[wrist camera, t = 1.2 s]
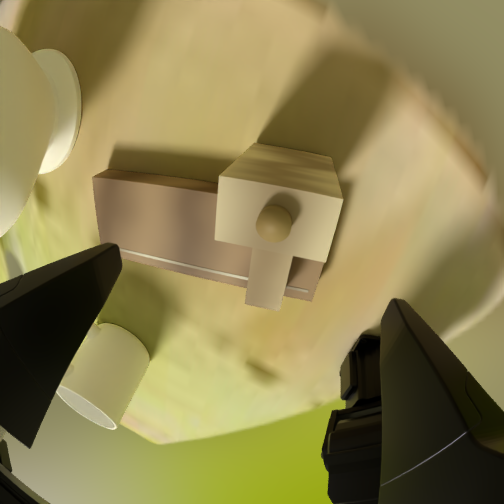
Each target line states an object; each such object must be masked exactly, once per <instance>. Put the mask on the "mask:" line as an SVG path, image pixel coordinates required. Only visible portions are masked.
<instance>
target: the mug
mask: <svg viewBox="0 0 504 504" xmlns="http://www.w3.org/2000/svg"><path fill="white" fill-rule="evenodd" d="M87 336H88V337H87V338H86V340H85V341H84V343H83V344H82V345H81V347H80V348H79V349H78V351H77V352H76V354H75V356H74V358H73V360H72V362H71V363H70V365H69V367H68V369H67V371H66V373H65V375H64V377H63V379H62V381H61V383H60V385H59V387H58V389H57V391H56V392H57V394H58V395H59V396H60V397H61V398H62V399H63V400H64V401H65V402H66V403H67V404H68V405H69V406H70V407H72V408H73V409H74V410H75V411H77V412H78V413H79V414H81V415H82V416H84V417H85V418H87V419H89V420H90V421H92V422H94V423H96V424H98V425H100V426H102V427H105V428H108V429H116V428H117V427H118V425H119V423H120V421H121V419H122V417H123V415H124V413H125V411H126V409H127V407H128V405H129V403H130V401H131V399H132V397H133V395H134V393H135V391H136V389H137V388H138V386H139V384H140V382H141V380H142V378H143V376H144V374H145V372H146V370H147V368H148V366H149V362H150V358H149V354H148V351H147V349H146V348H145V346H144V345H143V344H142V342H141V341H140V340H139V339H138V338H137V337H135V336H134V335H133V334H132V333H130V332H129V331H127V330H126V329H124V328H122V327H120V326H118V325H115V324H110V323H102V324H99V325H98V326H97V325H96V324H95V323H93V324H92V326H91V328H90V329H89V331H88V333H87Z"/></svg>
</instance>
